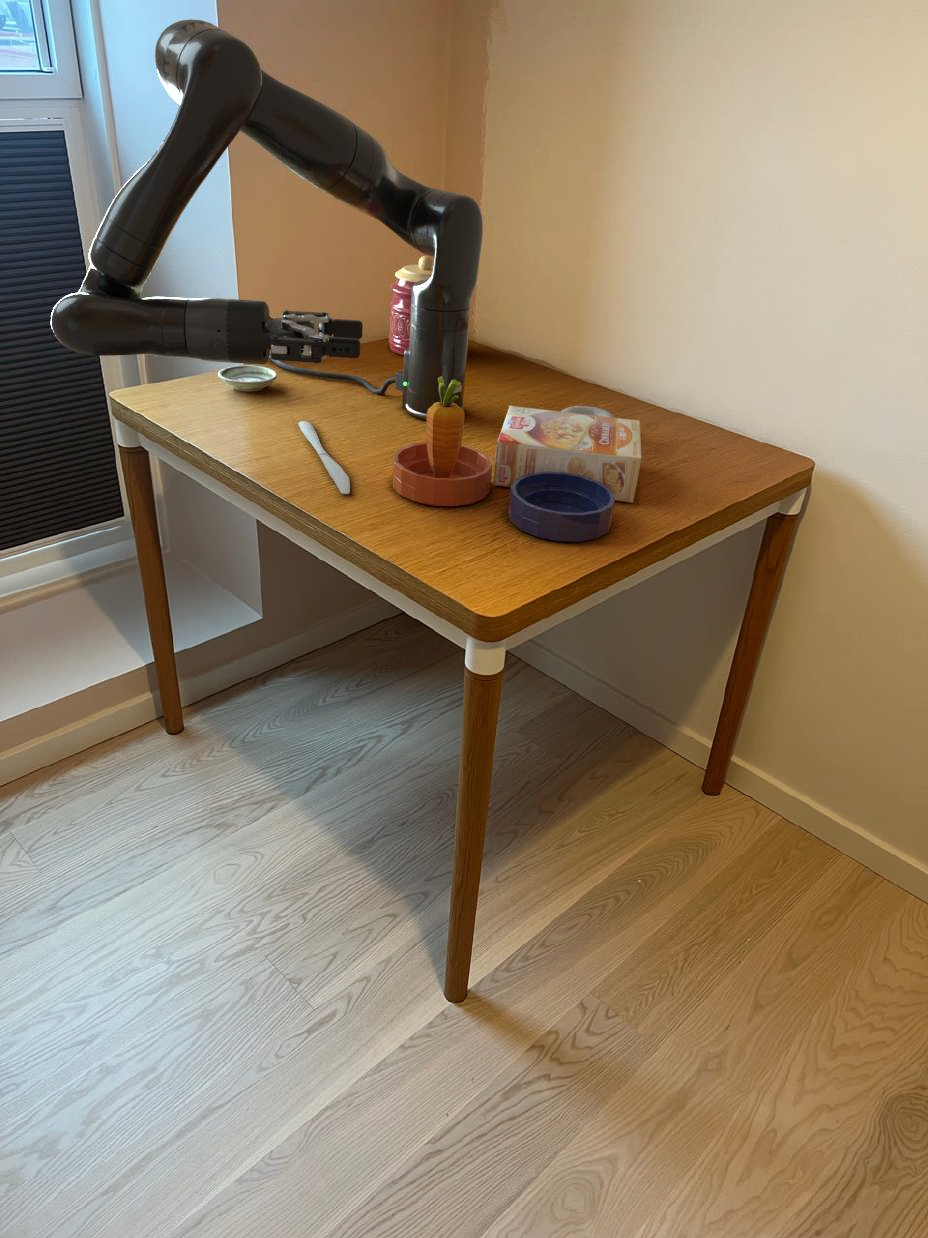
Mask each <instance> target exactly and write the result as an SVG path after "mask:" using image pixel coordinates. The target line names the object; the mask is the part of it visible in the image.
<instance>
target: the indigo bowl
mask: <svg viewBox="0 0 928 1238" xmlns="http://www.w3.org/2000/svg"><path fill="white" fill-rule="evenodd" d="M509 488H510V489H509V498H508V506H507V507H508V508H507V514H508V517H509V518H508V519H509V521H510V522H511V523H512V524H513V525H515V526H516V527H517V529H519V530H520V531H522V532H524V533H527V534H530V535H532V536H534V537H537V538H541V539H545V540H551V541H554V542H570V543H571V542H574V543H575V542H577V543H578V542H579V543H580V542H586V541H591V540H595V539H596V540H597V539H598V538H600V537H602V536H604V535H605V534H607V533H608V532H609V530H610V527H611V526H612V522H613V515H614V510H615V504H616V500H615V496H614V495H613V493H612V491H611V489H609V488H608V487H606V486H605V485H603V484H602V483H600V482H598V481H596V480H593V479H590V478H587V477H585V476H581V475H576V474H571V473H565V472H538V473H531V474H527V475H524V476H522V477H519V478H517V479H516V480H515V481H514V483H513V484H512V485H511V487H509Z"/></svg>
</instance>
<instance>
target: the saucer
mask: <svg viewBox="0 0 928 1238" xmlns="http://www.w3.org/2000/svg"><path fill="white" fill-rule="evenodd" d="M217 376H218V379H220V380H221V381H222V382H223V383H224V384H226V385H228V386H229V387H232V388H233V389H234V390H237V391H240V392H258V391H261V390H263V389H264V388H266V387H268V386H269V385H271V384H272V383H273V382H274V381H275V380H277V378H278V373H277V372H276V371H275V370H273V369H272V368H269V367H265V366H260V365H253V364H241V365H233V366H232V365H231V366H228V367H225V368H222V369H221V370H219V371H218V372H217Z"/></svg>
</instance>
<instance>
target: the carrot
mask: <svg viewBox="0 0 928 1238" xmlns="http://www.w3.org/2000/svg"><path fill="white" fill-rule="evenodd" d="M438 382H439V394H440V399H441V402H437V403H435V404H433V405H432V406H431V407H430V408H429V409H428V411H427V420H426V431H425V432H426V441H425V442H427V450H428V457H429V463H430V466H431V469H432V472H433V475H434V477H435V478H449V476H450V475H451V473H452V471H453V469H454V467H455V465H456V461H457V458H458V455H459V451H460V447H461V445H462V442H463V436H464V435H463V434H464V433H463V432H464V426H465V416H466V415H465V410H464V408H463V409H462V408H461V407H460V406H458V405H457V404H455V403H453V402H454V401H455V400H457V399H458V398H459V396H457V395H454V396H453V397H452V395H453V393H454V391H455V390H456V389H457V388H458V387H459V386H460V385H461V383H460V382H457V381H456V380H452V381H451V383H450V384H449V386H448V388H447V390H446V393H445V384H444V379H443V377H442V376H441V377H439V378H438Z"/></svg>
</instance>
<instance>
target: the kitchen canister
mask: <svg viewBox="0 0 928 1238" xmlns="http://www.w3.org/2000/svg"><path fill="white" fill-rule="evenodd" d="M433 266H434V264H433V260H432V257H431V256H429V255H423V256H420V258H419V259H418V264H417V263H416V264H408V265H404V266H403V267H402V268H401V269H398V270H397V271H396V272H394V275H395V277H396V280H395V281H394V282H393V283H391V284H390V286H389V288H390V290H391V292H392V300H391V301H390V303H389V307H390V318H389V320H390V321H389V334H388V343H389V349H390V350H391V351H392V352H393V353H395V354H398V355H401V356H404V352H405V350H407V349H409V343H410V317H411V293H412V287H413V285H414V284H415V283H416V282H418V281H420V280H424V279H428V278H430V277H431V275H432V272H433Z"/></svg>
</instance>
